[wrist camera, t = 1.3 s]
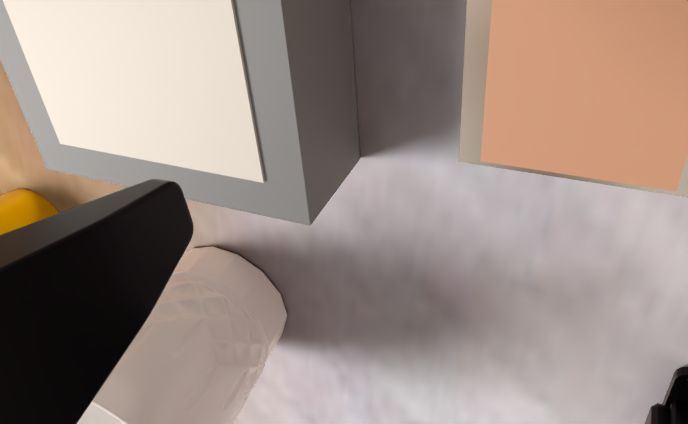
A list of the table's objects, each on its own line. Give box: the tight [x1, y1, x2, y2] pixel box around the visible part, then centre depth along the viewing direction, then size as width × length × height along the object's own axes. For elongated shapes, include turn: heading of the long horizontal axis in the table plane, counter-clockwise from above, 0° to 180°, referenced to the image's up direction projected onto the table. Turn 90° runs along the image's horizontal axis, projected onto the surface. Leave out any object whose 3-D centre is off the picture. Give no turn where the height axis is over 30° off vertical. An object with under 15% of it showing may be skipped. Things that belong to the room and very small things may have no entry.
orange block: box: [480, 0, 688, 191], centre depth 12 cm, size 4×6×3 cm, turn 4°
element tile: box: [0, 189, 59, 235], centre depth 40 cm, size 15×15×5 cm
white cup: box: [77, 246, 287, 424], centre depth 29 cm, size 8×8×10 cm
